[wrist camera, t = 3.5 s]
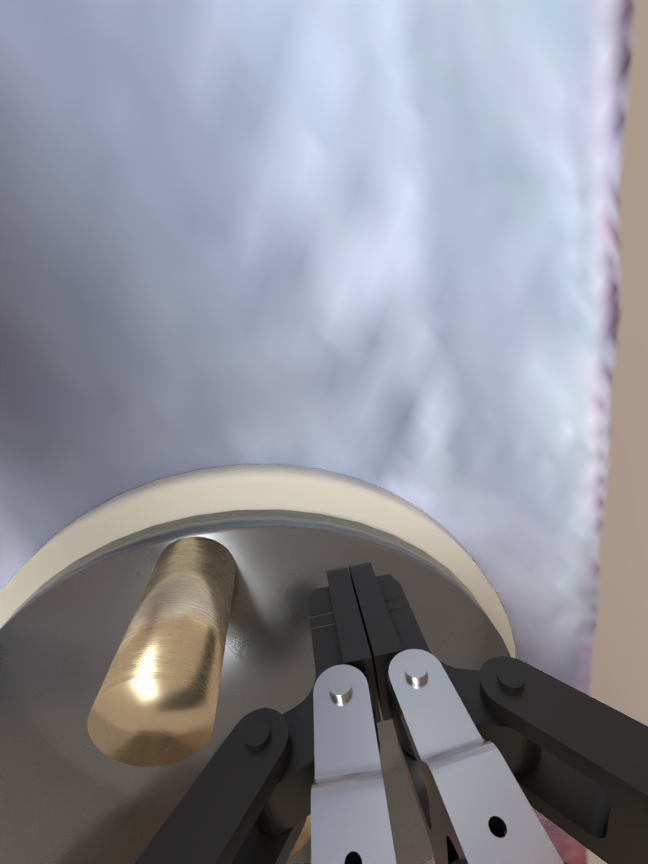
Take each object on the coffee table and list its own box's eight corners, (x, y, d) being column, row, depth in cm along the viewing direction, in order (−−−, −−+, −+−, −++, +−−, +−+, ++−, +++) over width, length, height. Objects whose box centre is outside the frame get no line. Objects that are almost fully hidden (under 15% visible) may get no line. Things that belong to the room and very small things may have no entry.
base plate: (-129, 527, 18) (-177, 555, 16) (497, 415, 20) (521, 428, 18) (91, 889, 27) (78, 933, 25) (497, 792, 29) (513, 827, 27)
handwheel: (-150, 579, 16) (-502, 814, 9) (505, 457, 17) (666, 569, 10) (85, 933, 25) (8, 1191, 18) (503, 830, 26) (588, 1029, 19)
